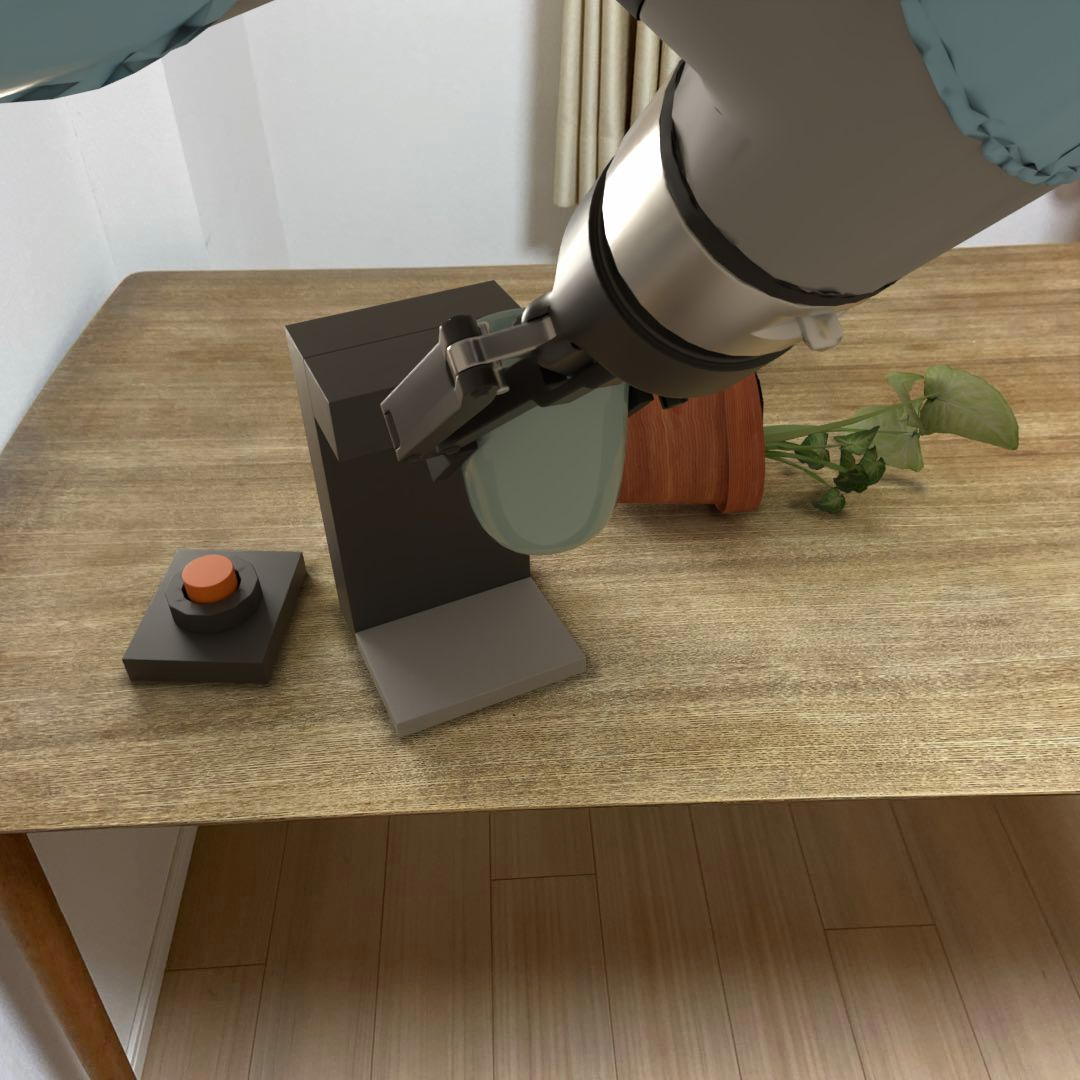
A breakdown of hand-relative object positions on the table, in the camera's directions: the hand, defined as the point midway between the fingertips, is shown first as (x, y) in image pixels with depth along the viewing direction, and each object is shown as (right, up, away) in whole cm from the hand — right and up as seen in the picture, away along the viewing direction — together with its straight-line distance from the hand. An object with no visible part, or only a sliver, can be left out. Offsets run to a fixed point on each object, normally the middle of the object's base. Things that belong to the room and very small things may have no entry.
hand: (513, 431), depth 50 cm
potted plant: (+22, -1, +38) cm, 44 cm away
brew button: (-23, -9, +24) cm, 34 cm away
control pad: (-23, -12, +27) cm, 37 cm away
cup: (+2, -5, 0) cm, 5 cm away
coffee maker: (-5, -13, +25) cm, 28 cm away
